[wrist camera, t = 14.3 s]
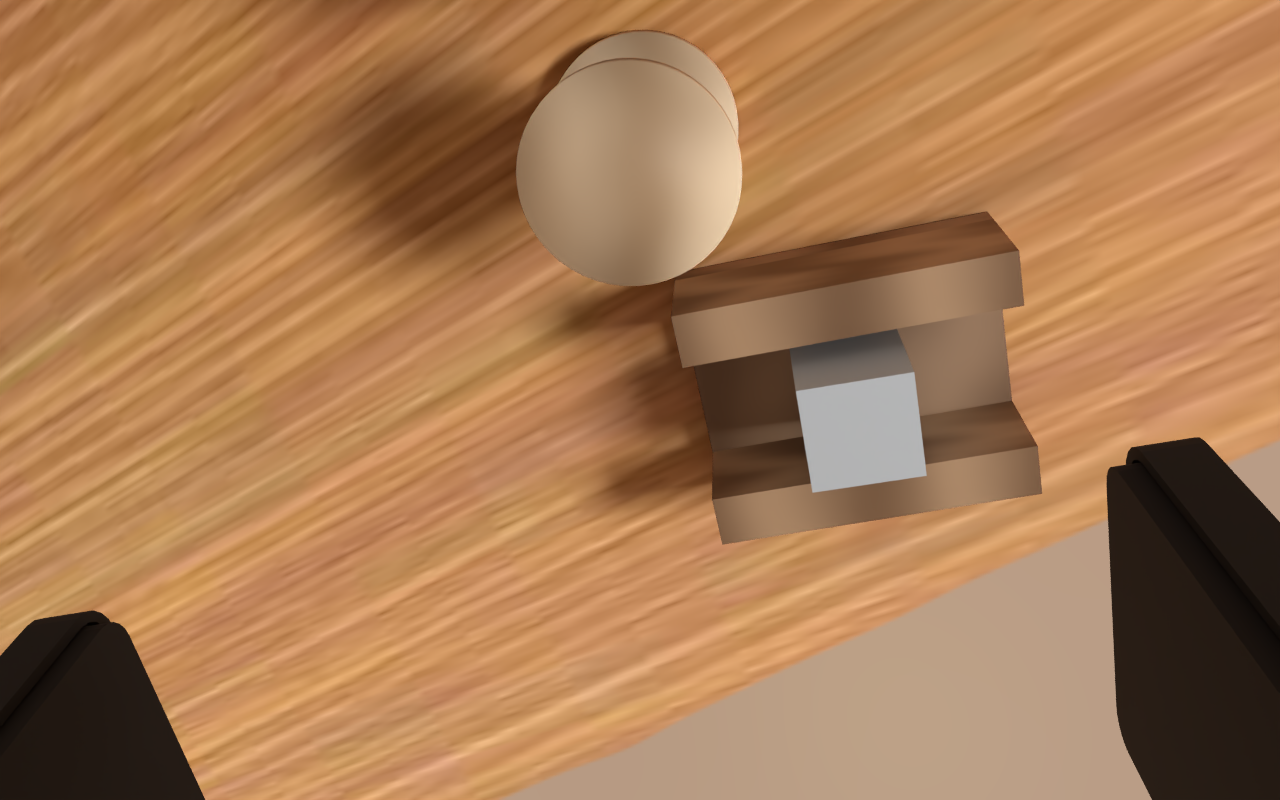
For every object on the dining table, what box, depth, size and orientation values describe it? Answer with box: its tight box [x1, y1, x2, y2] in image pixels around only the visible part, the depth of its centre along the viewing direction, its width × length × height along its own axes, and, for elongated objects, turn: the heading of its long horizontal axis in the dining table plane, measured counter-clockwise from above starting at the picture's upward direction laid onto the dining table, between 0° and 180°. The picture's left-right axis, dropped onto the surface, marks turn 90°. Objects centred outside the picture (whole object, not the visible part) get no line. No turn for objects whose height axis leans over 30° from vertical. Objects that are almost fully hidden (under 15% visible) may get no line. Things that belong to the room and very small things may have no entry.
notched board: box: [671, 212, 1042, 545], centre depth 44 cm, size 12×10×5 cm
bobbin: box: [516, 30, 742, 286], centre depth 39 cm, size 7×7×8 cm
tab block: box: [789, 329, 927, 493], centre depth 42 cm, size 4×4×6 cm
